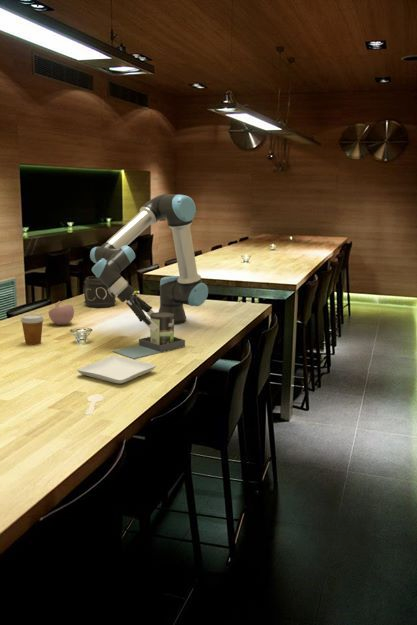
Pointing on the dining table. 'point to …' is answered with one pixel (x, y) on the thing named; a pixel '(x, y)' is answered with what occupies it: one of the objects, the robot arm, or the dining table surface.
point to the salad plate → (116, 369)
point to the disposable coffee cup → (32, 328)
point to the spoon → (93, 402)
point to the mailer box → (149, 348)
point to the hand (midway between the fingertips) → (157, 325)
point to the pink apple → (61, 314)
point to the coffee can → (162, 328)
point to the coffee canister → (97, 294)
